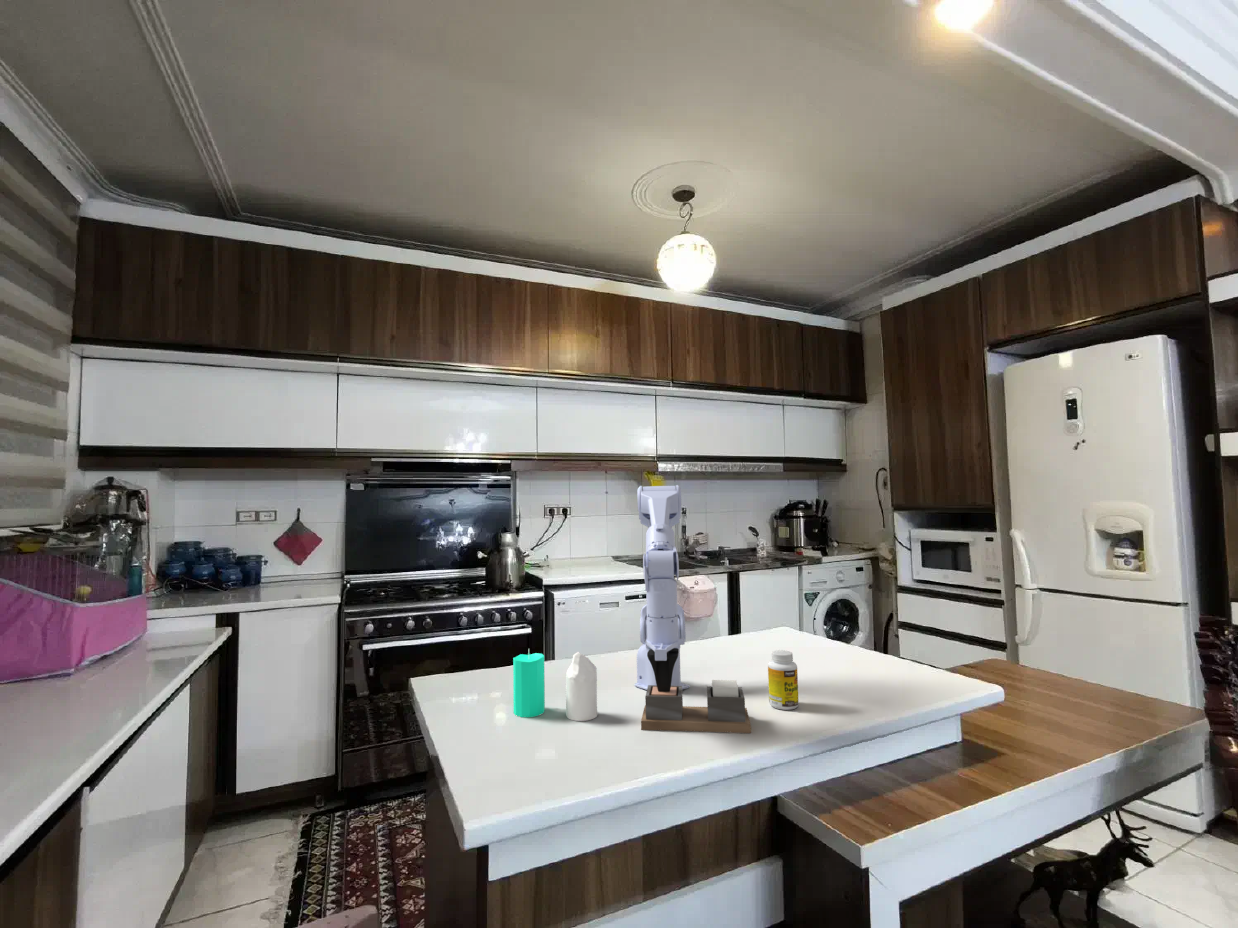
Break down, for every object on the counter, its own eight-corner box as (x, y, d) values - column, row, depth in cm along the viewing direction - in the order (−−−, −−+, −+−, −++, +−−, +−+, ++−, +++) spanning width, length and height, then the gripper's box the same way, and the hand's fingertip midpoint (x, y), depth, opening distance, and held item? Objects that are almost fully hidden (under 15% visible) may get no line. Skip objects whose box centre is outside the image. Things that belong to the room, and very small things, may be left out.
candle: (550, 707, 112) (549, 646, 113) (535, 718, 107) (535, 653, 108) (523, 705, 114) (522, 644, 115) (507, 715, 109) (507, 651, 110)
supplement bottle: (785, 713, 107) (783, 657, 108) (763, 704, 112) (761, 651, 113) (805, 706, 110) (802, 652, 111) (782, 699, 115) (780, 647, 116)
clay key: (653, 700, 107) (653, 686, 107) (677, 700, 106) (676, 686, 106) (651, 708, 102) (651, 694, 102) (676, 708, 102) (675, 694, 102)
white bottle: (598, 648, 111) (593, 655, 105) (599, 711, 110) (594, 722, 104) (568, 647, 112) (562, 654, 106) (569, 710, 111) (562, 721, 105)
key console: (645, 713, 108) (644, 683, 109) (746, 716, 106) (745, 685, 106) (641, 729, 100) (640, 697, 101) (751, 732, 98) (749, 700, 98)
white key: (712, 693, 105) (712, 679, 105) (736, 694, 105) (736, 680, 105) (713, 701, 101) (712, 687, 101) (738, 702, 100) (738, 687, 101)
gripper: (683, 623, 98) (685, 704, 97) (684, 608, 112) (686, 679, 111) (642, 623, 99) (644, 703, 98) (648, 608, 113) (650, 678, 112)
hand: (664, 690), depth 104 cm, fingers closed, pressing on clay key
